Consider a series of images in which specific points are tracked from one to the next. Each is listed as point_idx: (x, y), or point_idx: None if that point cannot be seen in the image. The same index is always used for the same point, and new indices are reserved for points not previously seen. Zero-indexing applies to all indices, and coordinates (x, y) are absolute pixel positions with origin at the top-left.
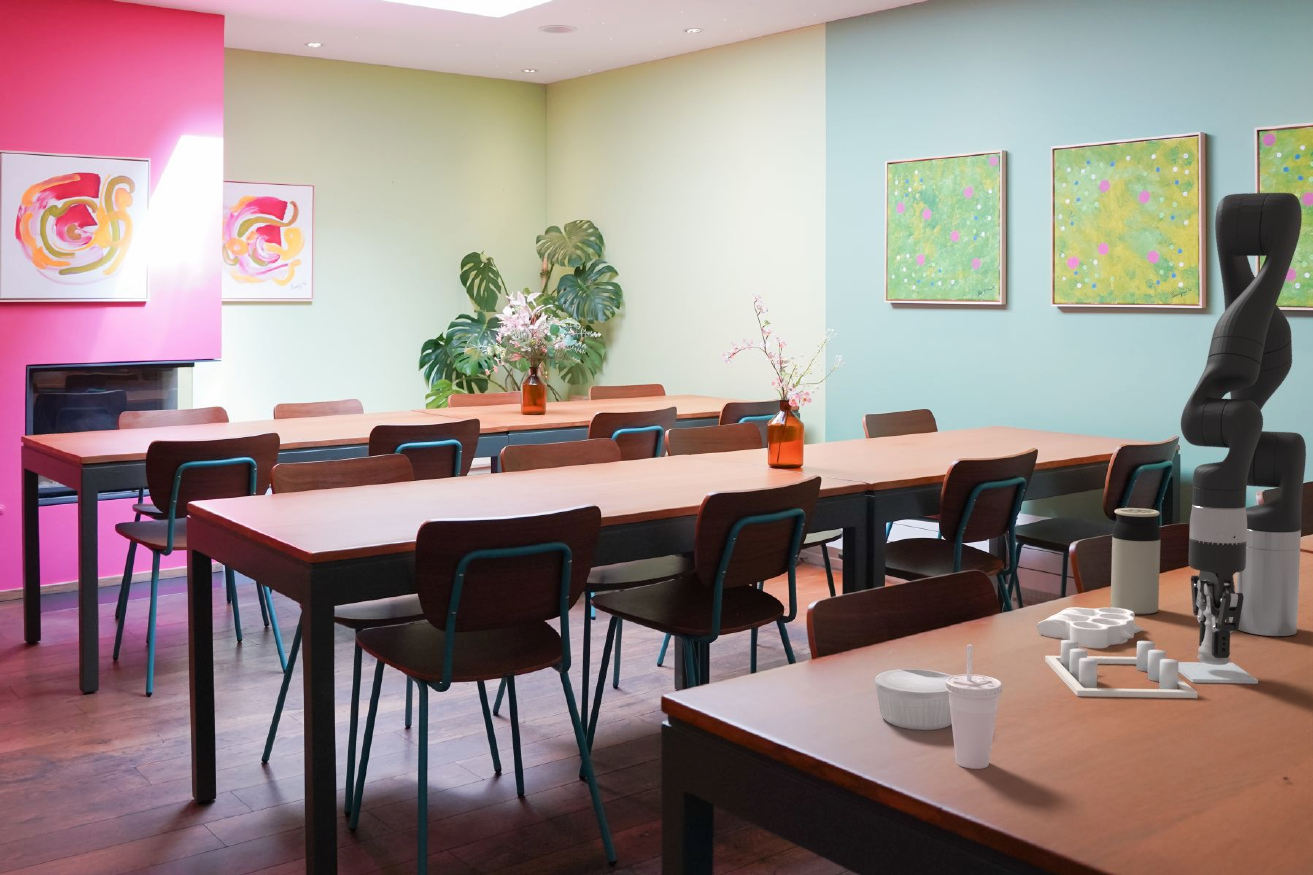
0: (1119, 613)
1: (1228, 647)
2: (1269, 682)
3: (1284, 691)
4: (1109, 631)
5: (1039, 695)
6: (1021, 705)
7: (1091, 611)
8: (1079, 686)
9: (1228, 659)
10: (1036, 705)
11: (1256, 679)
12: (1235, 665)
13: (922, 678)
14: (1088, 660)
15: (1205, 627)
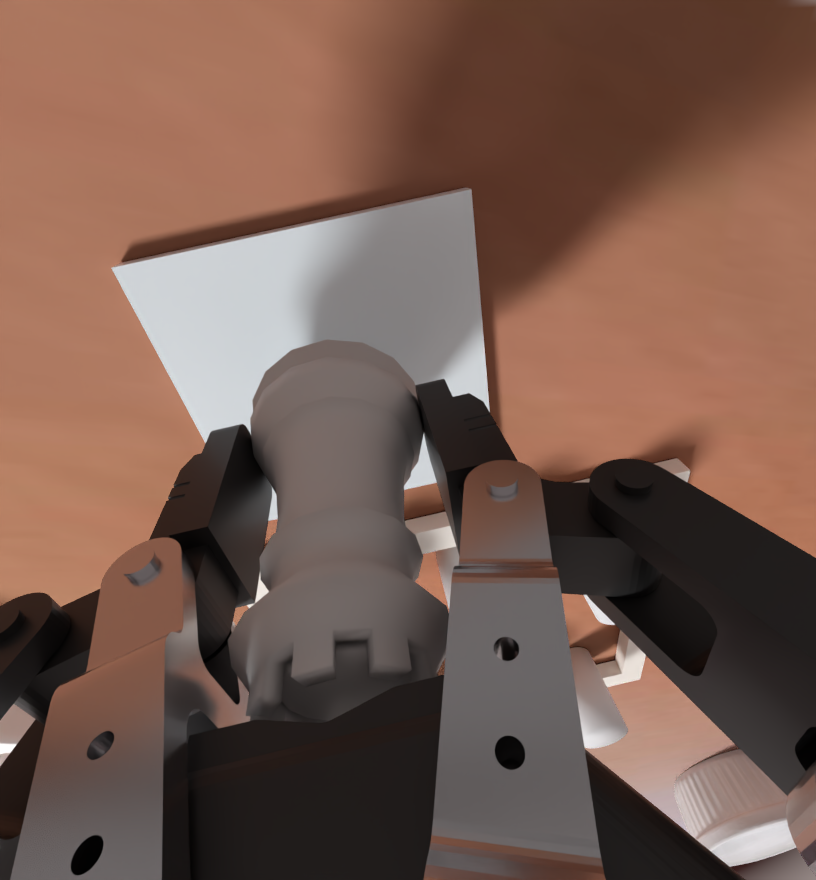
0: None
1: (490, 417)
2: (426, 102)
3: (606, 52)
4: (11, 720)
5: (621, 705)
6: (680, 712)
7: None
8: (608, 679)
9: (373, 357)
10: (684, 699)
11: (460, 196)
12: (174, 262)
13: (759, 843)
14: (609, 735)
15: (245, 567)
